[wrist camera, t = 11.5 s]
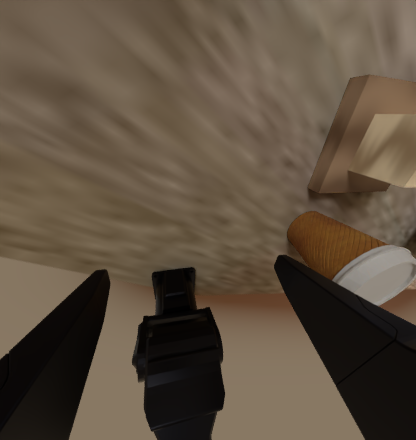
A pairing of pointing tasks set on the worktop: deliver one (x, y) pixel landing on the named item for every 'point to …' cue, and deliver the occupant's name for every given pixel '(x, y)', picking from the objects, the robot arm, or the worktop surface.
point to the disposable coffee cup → (352, 257)
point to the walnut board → (359, 131)
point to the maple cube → (388, 150)
